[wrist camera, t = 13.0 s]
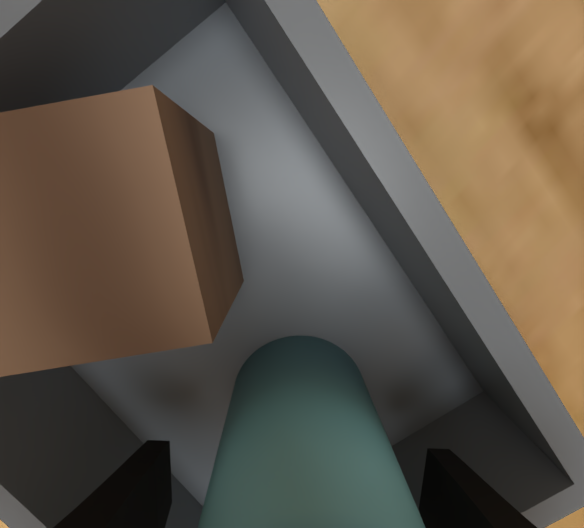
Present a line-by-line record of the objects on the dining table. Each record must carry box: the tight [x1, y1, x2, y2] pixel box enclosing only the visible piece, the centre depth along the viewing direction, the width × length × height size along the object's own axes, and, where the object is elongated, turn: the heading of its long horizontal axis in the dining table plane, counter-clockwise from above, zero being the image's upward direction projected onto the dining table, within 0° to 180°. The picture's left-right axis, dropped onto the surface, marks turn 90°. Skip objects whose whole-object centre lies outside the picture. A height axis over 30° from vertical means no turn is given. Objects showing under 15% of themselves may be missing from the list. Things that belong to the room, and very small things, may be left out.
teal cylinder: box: [198, 336, 426, 528], centre depth 9 cm, size 5×5×7 cm
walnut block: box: [0, 85, 244, 377], centre depth 9 cm, size 5×5×5 cm
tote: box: [0, 0, 584, 528], centre depth 11 cm, size 18×14×5 cm
